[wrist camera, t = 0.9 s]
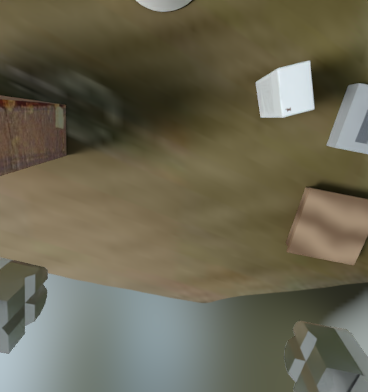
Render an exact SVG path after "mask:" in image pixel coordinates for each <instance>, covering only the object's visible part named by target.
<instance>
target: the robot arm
mask: <svg viewBox="0 0 368 392" xmlns="http://www.w3.org/2000/svg"><path fill="white" fill-rule="evenodd" d="M136 1H137V2H138V3H140V4H141V5H143V6H144V7H146V8H149V9H151V10H155V11H161V12H167V11H173V10H177V9H179V8H181V7H183V6H185V5H187V4H188V3H189V2H191V1H192V0H136ZM47 275H48V271H47V269H46V268H45V267H41V266H37V265H32V264H28V263H24V262H20V261H15V260H14V261H13V260H10V259H5V258H1V257H0V352H1V353H7V354H9V353H10V352H11V350H12V349H13V348H14V347H15V345H16V344H17V343H18V341H19V340H20V339H21V338H22V336H23V335H24V334H25V326H26V325H28V324H30V323H32V322H34V321H35V320H36V319H37V317H38V316H39V315H40V313H41V311H42V309H43V307H44V305H45V302H46V298H47V289H46V288H45V286H44V285H43V283H44V282H45V281H46V280H47V278H48V276H47ZM293 332H294V335H295V336H294V337H292V338H291V339H289V340H288V342H287V344H286V346H285V353H284V360H285V366H286V369H287V372H288V374H289V375H290V376H291V377H292V379H293V380H294V381H295V385H294V388H293V390H294V392H368V357H367V355H366V354H365V353H364V351H363V350H362V348H361V347H360V345H359V344H358V342H357V341H356V339H355V338H354V337H353V335H352V334H351V333H350V332H349V331H348V330H346V329H341V328H336V327H331V326H330V327H328V326H324V325H319V324H314V323H309V322H304V321H298V322H297V323H296V324H295V326H294V328H293Z"/></svg>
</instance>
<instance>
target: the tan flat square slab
mask: <svg viewBox="0 0 368 392" xmlns="http://www.w3.org/2000/svg"><path fill="white" fill-rule="evenodd" d="M367 236H368V199H365V198H360V197H355V196H350V195H345V194H340V193H335V192H330V191H325V190H320V189H315V188H310V187H306V188H305V190H304V193H303V196H302V199H301V202H300V204H299V207H298V210H297V213H296V216H295V218H294V221H293V224H292V227H291V230H290V232H289V235H288V238H287V241H286V244H287V245H288V248H287V252H289V253H294V254H299V255H304V256H309V257H314V258H319V259H324V260H329V261H335V262H340V263H345V264H350V265H354V264H355V262H356V260H357V258H358V255H359V253H360V251H361V249H362V247H363V245H364V243H365V240H366V238H367Z"/></svg>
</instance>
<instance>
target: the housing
mask: <svg viewBox="0 0 368 392" xmlns="http://www.w3.org/2000/svg"><path fill="white" fill-rule="evenodd" d="M355 142H358V143H363V144H368V110H367V112H366V115H365V117H364V120H363V123H362V125H361V128H360V130H359V133H358V135H357V138H356V140H355Z"/></svg>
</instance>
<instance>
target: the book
mask: <svg viewBox="0 0 368 392" xmlns="http://www.w3.org/2000/svg"><path fill="white" fill-rule="evenodd" d="M66 155H67V153H66V105H65V104H58V103H51V102H44V101H37V100H30V99H23V98H16V97H8V96H1V95H0V176H2V175H5V174H8V173H11V172H15V171H18V170H21V169H24V168H28V167H31V166H34V165H37V164H41V163H44V162H47V161H50V160H54V159H57V158H60V157H63V156H66Z"/></svg>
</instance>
